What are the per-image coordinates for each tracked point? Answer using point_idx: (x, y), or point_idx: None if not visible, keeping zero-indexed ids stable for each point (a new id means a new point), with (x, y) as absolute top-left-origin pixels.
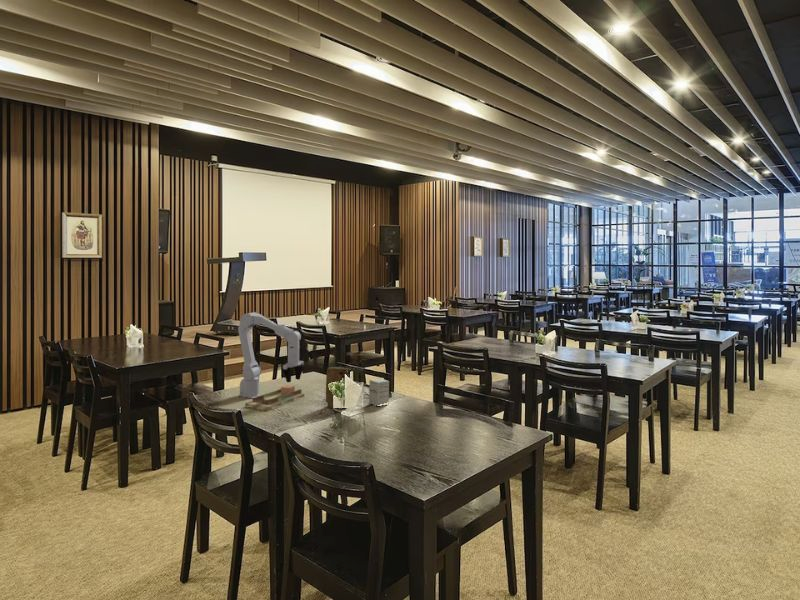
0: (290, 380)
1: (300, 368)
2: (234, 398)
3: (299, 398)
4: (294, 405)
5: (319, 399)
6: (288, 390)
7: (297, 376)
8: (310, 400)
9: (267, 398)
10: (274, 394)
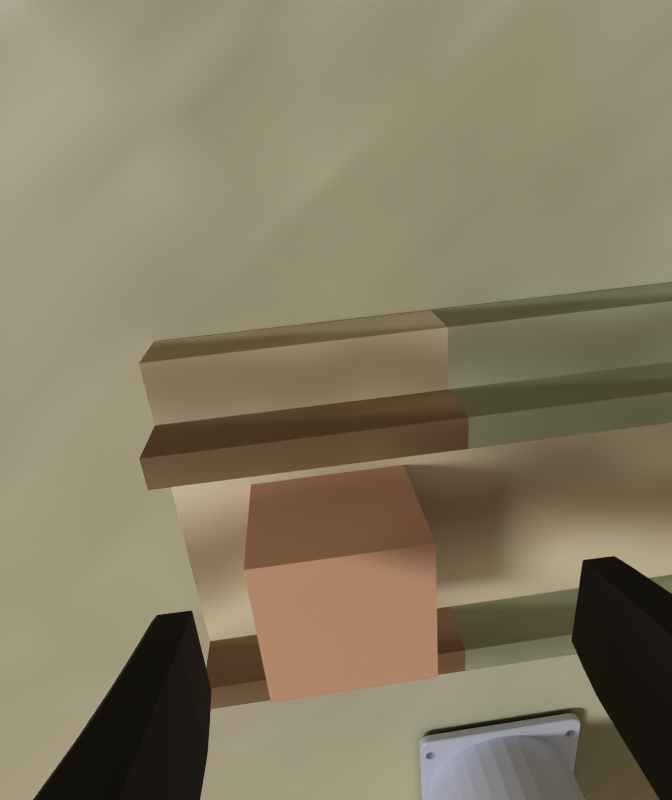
0: (637, 585)
1: None
2: (626, 797)
3: (287, 330)
4: (613, 136)
5: (36, 10)
6: (423, 519)
7: (184, 735)
8: (215, 122)
9: (657, 561)
10: (499, 610)
